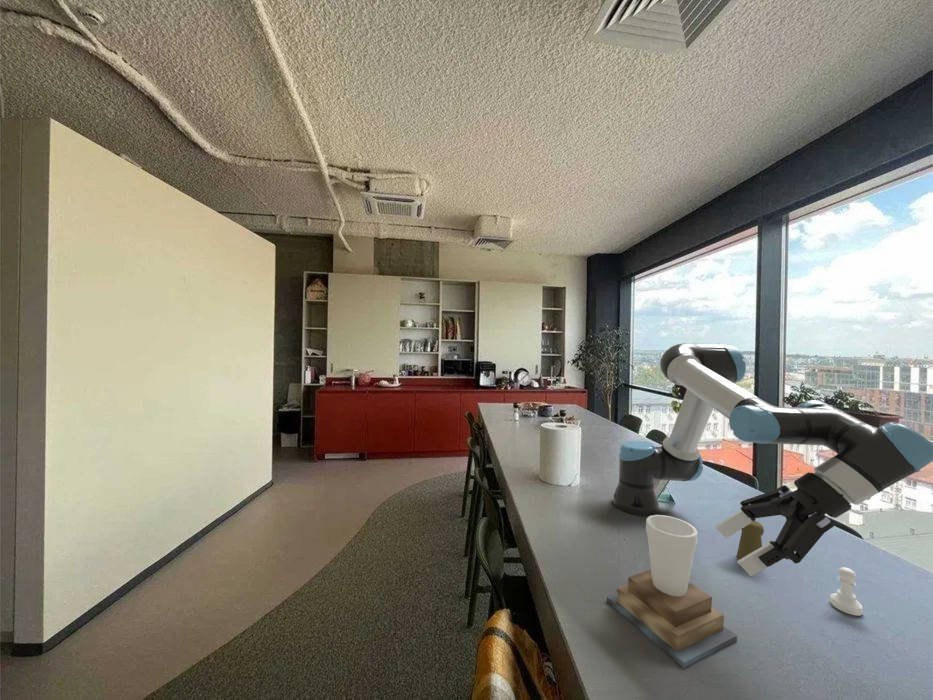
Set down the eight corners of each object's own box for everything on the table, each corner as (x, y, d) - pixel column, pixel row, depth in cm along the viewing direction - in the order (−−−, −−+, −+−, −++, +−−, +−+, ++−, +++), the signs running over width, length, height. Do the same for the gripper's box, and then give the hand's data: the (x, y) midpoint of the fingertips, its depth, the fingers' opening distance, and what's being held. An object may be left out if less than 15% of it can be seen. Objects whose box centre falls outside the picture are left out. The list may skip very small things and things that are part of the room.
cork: (758, 557, 99) (760, 518, 99) (769, 569, 93) (770, 528, 93) (733, 552, 101) (734, 514, 101) (741, 564, 95) (743, 524, 95)
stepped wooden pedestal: (606, 601, 80) (607, 570, 80) (655, 583, 86) (656, 555, 86) (683, 668, 63) (685, 629, 63) (737, 640, 70) (738, 605, 70)
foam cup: (635, 572, 79) (637, 514, 79) (674, 571, 80) (676, 514, 80) (662, 602, 70) (664, 537, 70) (706, 601, 70) (708, 537, 70)
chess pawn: (825, 597, 83) (826, 559, 83) (853, 603, 81) (854, 565, 81) (838, 612, 78) (839, 572, 78) (868, 619, 77) (870, 578, 76)
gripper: (905, 540, 52) (775, 608, 58) (811, 480, 76) (725, 534, 81) (860, 498, 54) (738, 568, 60) (782, 453, 78) (699, 507, 83)
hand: (730, 549), depth 71 cm, fingers open, 13 cm apart
